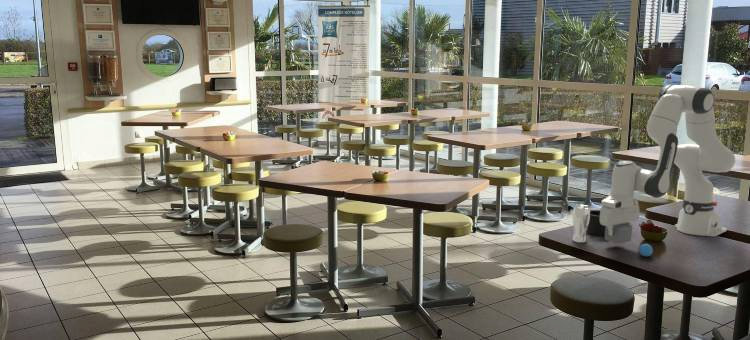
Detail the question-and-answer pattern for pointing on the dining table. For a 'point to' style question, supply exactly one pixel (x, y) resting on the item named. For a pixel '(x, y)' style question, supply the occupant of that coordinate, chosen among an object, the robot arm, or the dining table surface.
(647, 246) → the ball
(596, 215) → the mug
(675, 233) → the dining table surface
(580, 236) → the beer glass
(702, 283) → the dining table surface
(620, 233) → the grey block
